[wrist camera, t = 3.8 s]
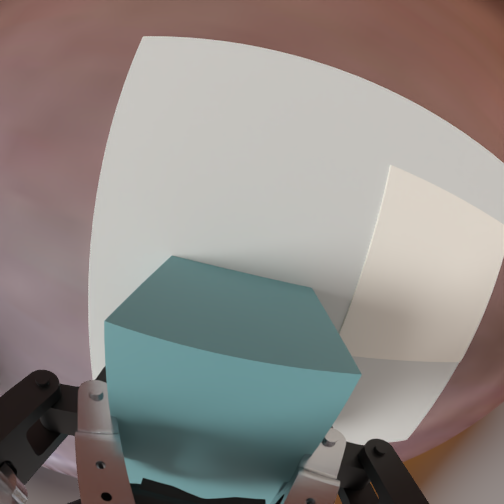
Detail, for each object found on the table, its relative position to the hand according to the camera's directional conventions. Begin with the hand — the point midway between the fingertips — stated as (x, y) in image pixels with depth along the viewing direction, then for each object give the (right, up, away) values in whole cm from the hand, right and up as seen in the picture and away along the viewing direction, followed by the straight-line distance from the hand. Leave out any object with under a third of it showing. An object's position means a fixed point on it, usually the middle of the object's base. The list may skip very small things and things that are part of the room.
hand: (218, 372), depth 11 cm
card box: (0, 0, +1) cm, 1 cm away
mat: (+5, +3, +1) cm, 6 cm away
